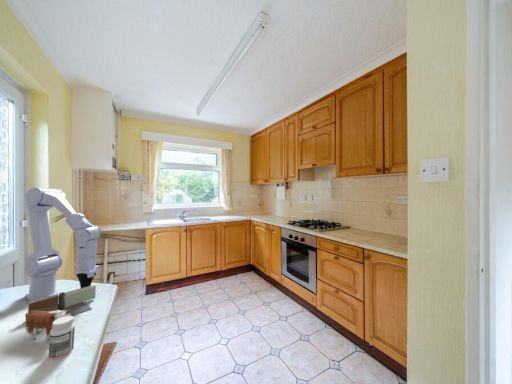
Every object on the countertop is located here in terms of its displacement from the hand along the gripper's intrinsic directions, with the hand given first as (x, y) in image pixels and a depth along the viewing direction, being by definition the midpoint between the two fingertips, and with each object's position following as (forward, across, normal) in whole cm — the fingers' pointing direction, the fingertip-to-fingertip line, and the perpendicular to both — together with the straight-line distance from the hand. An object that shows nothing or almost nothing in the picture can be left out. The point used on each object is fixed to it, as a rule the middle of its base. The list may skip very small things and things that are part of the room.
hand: (85, 291), depth 81 cm
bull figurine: (+3, -21, +12) cm, 25 cm away
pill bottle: (+3, -32, +11) cm, 34 cm away
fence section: (+3, -5, +11) cm, 12 cm away
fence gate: (+2, -4, +2) cm, 5 cm away
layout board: (+3, -5, +8) cm, 10 cm away
